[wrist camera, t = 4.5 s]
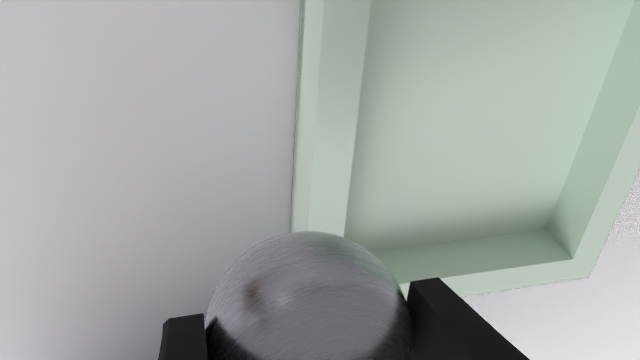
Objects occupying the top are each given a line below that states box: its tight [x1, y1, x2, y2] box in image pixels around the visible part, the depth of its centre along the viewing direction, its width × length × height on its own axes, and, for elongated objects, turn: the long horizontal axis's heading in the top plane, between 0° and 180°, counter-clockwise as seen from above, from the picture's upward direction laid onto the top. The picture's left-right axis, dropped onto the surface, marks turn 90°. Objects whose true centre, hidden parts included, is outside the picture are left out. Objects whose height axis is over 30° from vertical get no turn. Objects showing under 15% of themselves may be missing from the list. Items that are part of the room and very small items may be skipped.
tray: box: [290, 0, 640, 300], centre depth 18 cm, size 14×12×2 cm
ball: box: [204, 231, 413, 360], centre depth 11 cm, size 4×4×4 cm
